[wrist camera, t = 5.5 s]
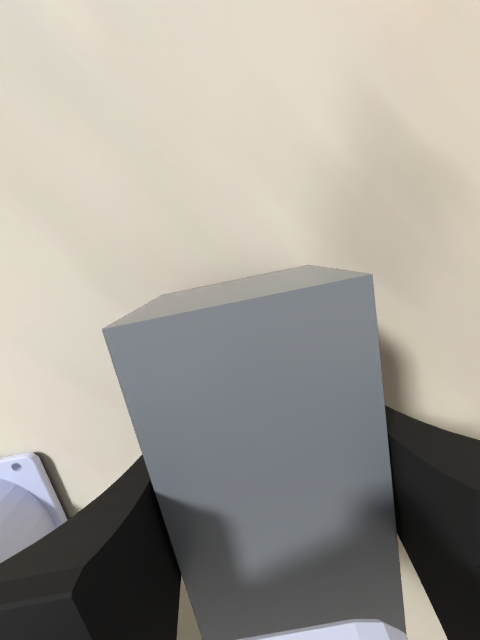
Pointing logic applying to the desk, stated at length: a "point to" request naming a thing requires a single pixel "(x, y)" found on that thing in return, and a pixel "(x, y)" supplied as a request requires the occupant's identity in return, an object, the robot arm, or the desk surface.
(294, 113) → the desk surface
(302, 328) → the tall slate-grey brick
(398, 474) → the robot arm
